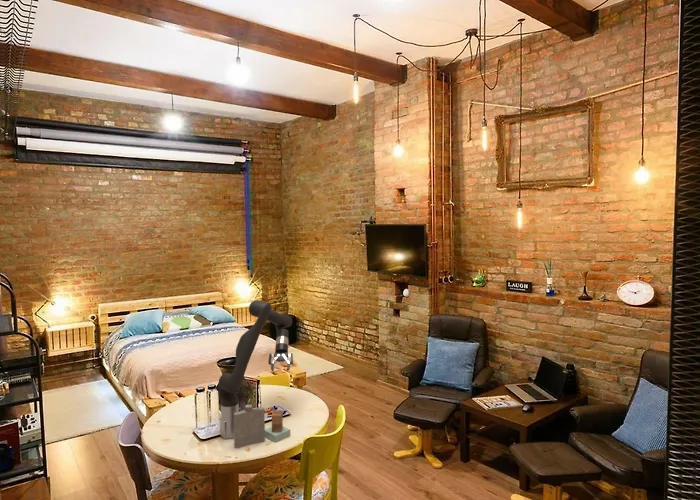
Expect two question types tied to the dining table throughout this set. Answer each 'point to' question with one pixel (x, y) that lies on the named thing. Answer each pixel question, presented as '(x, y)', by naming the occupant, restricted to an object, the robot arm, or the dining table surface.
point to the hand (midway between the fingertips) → (280, 370)
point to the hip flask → (249, 426)
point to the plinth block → (277, 434)
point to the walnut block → (277, 421)
